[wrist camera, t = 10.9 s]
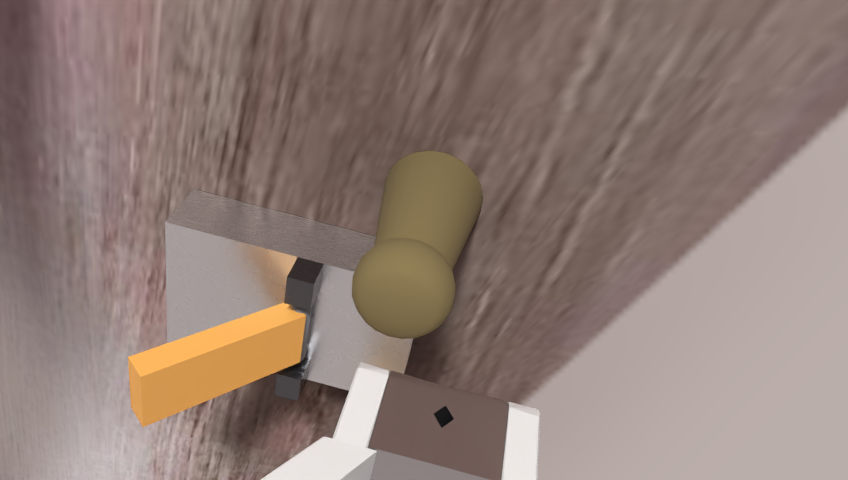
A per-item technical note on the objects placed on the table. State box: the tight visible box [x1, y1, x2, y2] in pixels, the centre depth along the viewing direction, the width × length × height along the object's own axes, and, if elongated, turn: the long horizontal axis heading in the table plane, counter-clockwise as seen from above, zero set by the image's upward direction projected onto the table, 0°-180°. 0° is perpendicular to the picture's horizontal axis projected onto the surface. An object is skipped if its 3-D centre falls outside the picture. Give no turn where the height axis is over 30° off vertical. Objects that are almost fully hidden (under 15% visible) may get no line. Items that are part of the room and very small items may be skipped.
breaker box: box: [165, 189, 414, 401], centre depth 47 cm, size 16×10×6 cm, turn 77°
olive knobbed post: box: [352, 151, 483, 339], centre depth 39 cm, size 6×6×11 cm
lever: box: [128, 303, 312, 427], centre depth 42 cm, size 2×4×11 cm
